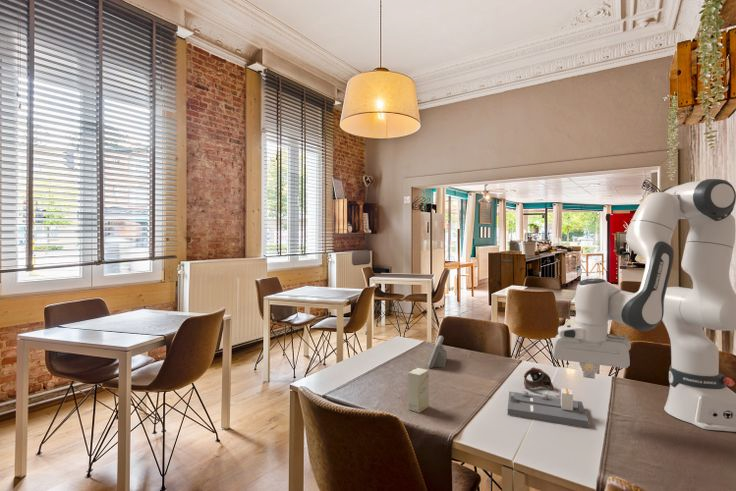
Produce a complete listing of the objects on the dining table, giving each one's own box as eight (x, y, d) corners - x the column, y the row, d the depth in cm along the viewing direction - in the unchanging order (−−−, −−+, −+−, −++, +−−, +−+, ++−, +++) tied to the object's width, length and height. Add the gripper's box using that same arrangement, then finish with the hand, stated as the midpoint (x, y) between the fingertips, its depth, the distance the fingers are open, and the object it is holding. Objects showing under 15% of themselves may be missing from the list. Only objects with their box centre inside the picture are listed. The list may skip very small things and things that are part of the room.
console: (581, 407, 124) (581, 395, 123) (588, 428, 111) (588, 414, 111) (509, 397, 132) (509, 385, 132) (507, 414, 119) (507, 402, 119)
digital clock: (433, 356, 177) (432, 333, 176) (452, 359, 172) (452, 336, 172) (420, 367, 162) (420, 342, 162) (441, 370, 158) (440, 345, 158)
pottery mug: (559, 395, 134) (551, 377, 133) (534, 405, 136) (525, 387, 134) (546, 374, 146) (538, 357, 144) (522, 384, 148) (514, 367, 146)
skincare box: (419, 413, 120) (419, 375, 120) (407, 409, 123) (407, 372, 123) (429, 406, 125) (429, 369, 125) (417, 402, 128) (417, 366, 128)
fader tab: (571, 405, 120) (571, 388, 120) (572, 410, 117) (572, 393, 116) (560, 403, 121) (560, 387, 121) (561, 409, 118) (561, 392, 118)
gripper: (628, 333, 115) (626, 379, 115) (552, 326, 123) (551, 369, 123) (633, 338, 109) (632, 386, 109) (554, 330, 117) (552, 375, 117)
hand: (588, 377), depth 116 cm, fingers closed
